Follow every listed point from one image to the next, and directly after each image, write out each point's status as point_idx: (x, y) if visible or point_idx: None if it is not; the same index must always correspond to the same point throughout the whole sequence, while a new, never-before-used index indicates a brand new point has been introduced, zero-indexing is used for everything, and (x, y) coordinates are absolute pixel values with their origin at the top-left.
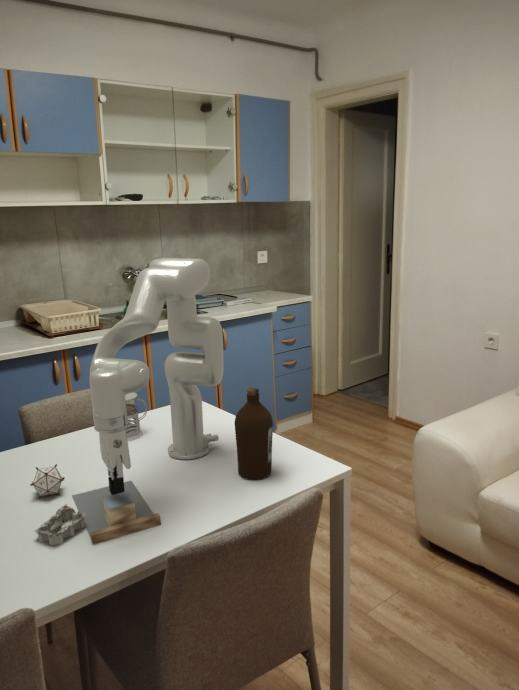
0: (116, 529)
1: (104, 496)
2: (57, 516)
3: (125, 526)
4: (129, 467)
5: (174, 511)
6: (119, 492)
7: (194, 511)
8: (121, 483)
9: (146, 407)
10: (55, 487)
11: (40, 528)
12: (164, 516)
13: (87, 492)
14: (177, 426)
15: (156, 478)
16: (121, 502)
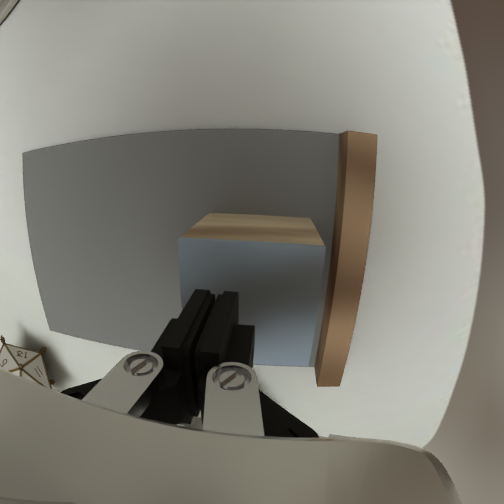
0: (354, 317)
1: (72, 258)
2: (180, 425)
3: (361, 286)
4: (440, 467)
5: (293, 54)
6: (237, 319)
7: (332, 3)
8: (230, 337)
9: None
10: (38, 374)
11: None
12: (308, 98)
13: (43, 292)
14: None
15: (44, 71)
16: (290, 308)
